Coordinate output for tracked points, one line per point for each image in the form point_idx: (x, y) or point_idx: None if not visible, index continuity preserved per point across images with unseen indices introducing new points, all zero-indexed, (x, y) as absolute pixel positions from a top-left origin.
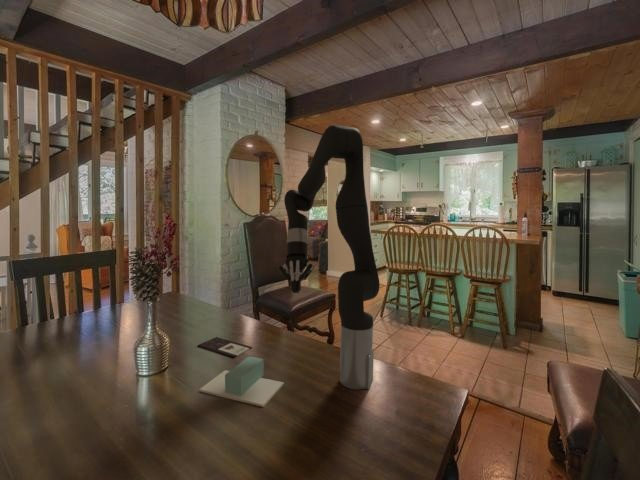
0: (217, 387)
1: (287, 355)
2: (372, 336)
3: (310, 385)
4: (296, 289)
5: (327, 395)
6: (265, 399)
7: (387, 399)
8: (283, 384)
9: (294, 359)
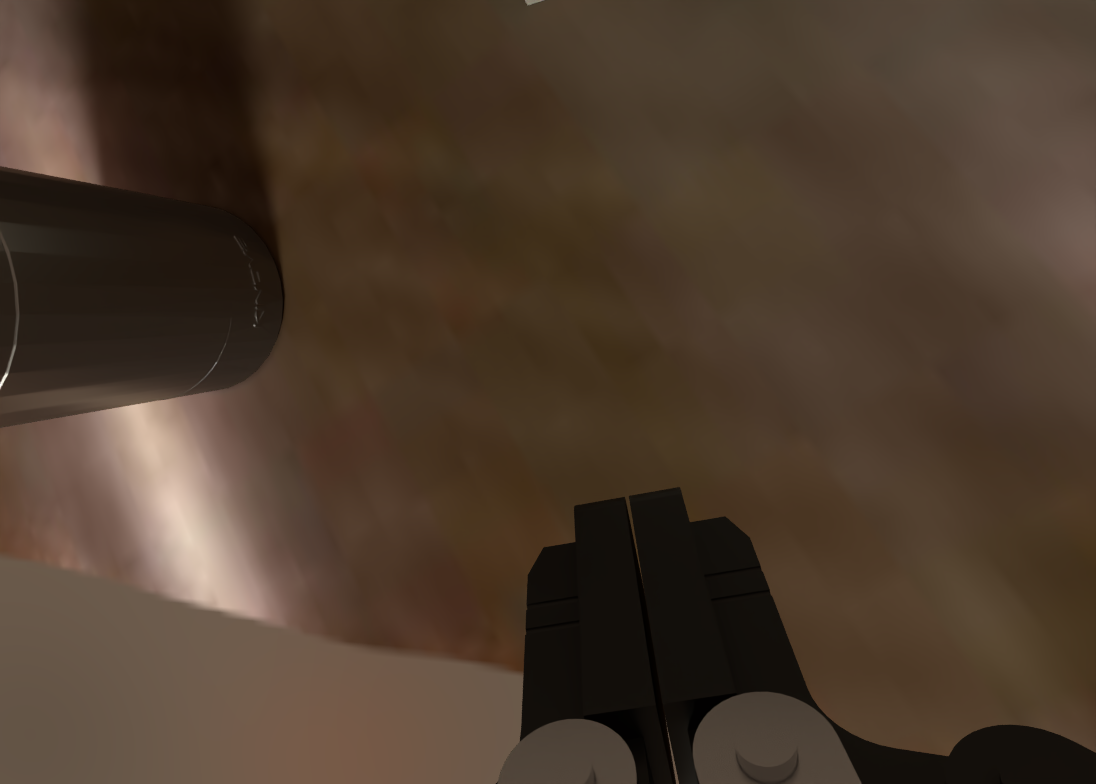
0: None
1: (767, 375)
2: None
3: (385, 105)
4: (576, 533)
5: (254, 74)
6: None
7: None
8: (527, 2)
9: (677, 347)
